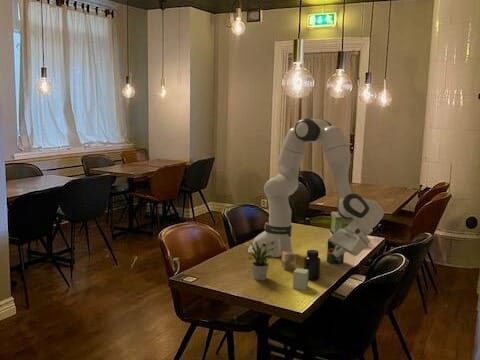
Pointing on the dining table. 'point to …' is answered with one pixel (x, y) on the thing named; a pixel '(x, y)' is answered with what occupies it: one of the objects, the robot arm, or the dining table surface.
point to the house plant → (260, 262)
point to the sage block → (300, 279)
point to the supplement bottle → (312, 265)
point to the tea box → (337, 223)
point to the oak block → (288, 260)
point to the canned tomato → (330, 257)
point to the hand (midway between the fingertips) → (334, 255)
